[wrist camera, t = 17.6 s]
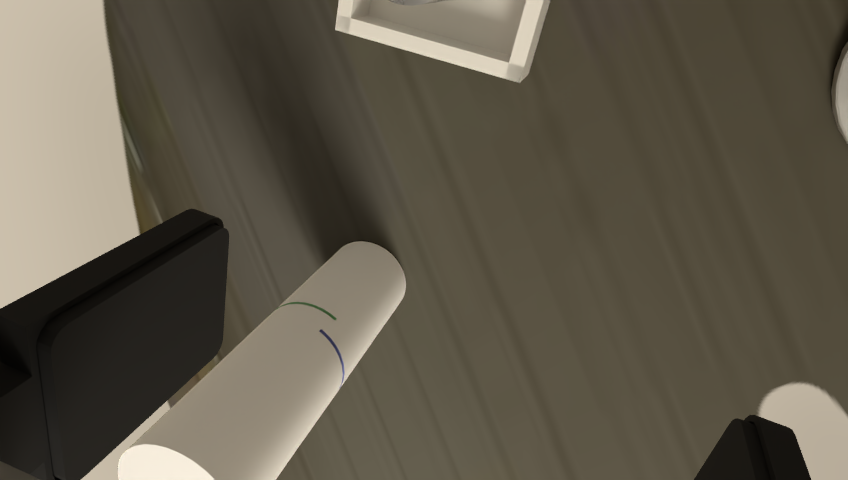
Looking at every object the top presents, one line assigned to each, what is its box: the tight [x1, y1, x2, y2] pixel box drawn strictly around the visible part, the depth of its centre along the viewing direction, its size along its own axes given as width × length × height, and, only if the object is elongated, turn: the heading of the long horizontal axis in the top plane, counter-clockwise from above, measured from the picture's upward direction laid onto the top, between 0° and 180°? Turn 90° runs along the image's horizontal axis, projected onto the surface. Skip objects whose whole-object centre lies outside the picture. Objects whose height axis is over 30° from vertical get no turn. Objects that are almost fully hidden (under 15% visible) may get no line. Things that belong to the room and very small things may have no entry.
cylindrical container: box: [118, 241, 406, 480], centre depth 40 cm, size 7×7×25 cm
